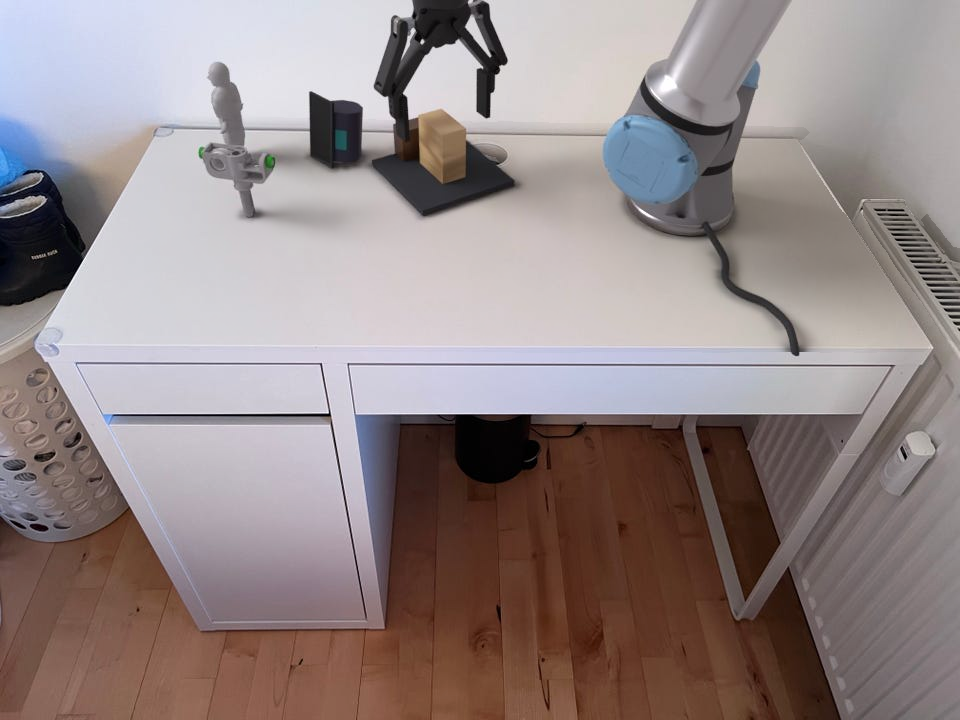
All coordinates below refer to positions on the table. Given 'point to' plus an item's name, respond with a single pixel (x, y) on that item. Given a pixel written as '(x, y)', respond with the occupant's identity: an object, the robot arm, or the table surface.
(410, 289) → the table surface
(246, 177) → the mechanical component
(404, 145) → the dark brown wooden block
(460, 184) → the mat
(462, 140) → the pad block
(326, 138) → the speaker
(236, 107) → the figurine
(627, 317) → the table surface
